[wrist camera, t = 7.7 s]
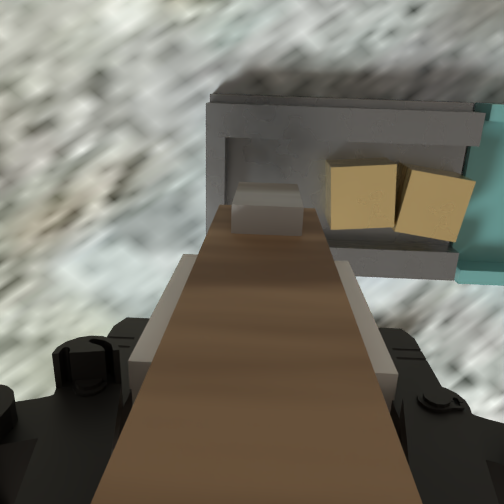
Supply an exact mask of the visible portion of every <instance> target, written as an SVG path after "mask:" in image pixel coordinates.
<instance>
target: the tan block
mask: <svg viewBox="0 0 504 504" xmlns="http://www.w3.org/2000/svg"><path fill="white" fill-rule="evenodd" d="M475 183H476V181H474V180H472V179H470V178H467V177H465V176H463V175H461V174H459V173H455V172H450V171H444V170H439V169H433V168H428V167H422V166H417V165H411V164H406V163H399V167H398V170H397V174H396V195H395V216H394V227H391V228H392V229H393V230H394V231H395V232H400V233H406V234H411V235H417V236H423V237H428V238H434V239H439V240H445V241H451V242H456V239H457V236H458V234H459V231H460V228H461V225H462V222H463V219H464V216H465V213H466V210H467V207H468V204H469V201H470V198H471V195H472V192H473V189H474V186H475Z"/></svg>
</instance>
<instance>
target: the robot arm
mask: <svg viewBox="0 0 504 504" xmlns="http://www.w3.org/2000/svg"><path fill="white" fill-rule="evenodd" d="M197 256H198V255H193V254H183V256H182V258H181V260H180V261H179V263H178V265H177V267H176V269H175V271H174V273H173V275H172V277H171V279H170V281H169V283H168V285H167V287H166V288H165V290H164V292H163V294H162V296H161V298H160V300H159V302H158V304H157V306H156V308H155V310H154V312H153V313H152V315H151V317H150V319H149V318H125V319H124V320H122V321H121V322H119V323H118V324H116V325H115V326H114V327H113V328H112V330H111V331H110V333H109V334H108V336H107V337H103V336H86V337H79V338H76V339H73V340H70V341H67V342H65V343H63V344H62V345H60V346H58V347H57V348H56V349H55V351H54V352H53V353H52V358H53V366H54V374H55V382H56V390H55V393H54V395H51V396H48V397H43V398H38V399H31V400H25V401H18V402H15V398H14V392H13V390H12V389H10V388H9V387H8V386H5V385H0V504H91V501H92V499H93V497H94V494H95V492H96V490H97V488H98V485H99V483H100V481H101V478H102V476H103V474H104V471H105V469H106V467H107V464H108V462H109V460H110V457H111V455H112V453H113V450H114V448H115V446H116V444H117V441H118V439H119V437H120V434H121V432H122V430H123V427H124V425H125V423H126V420H127V418H128V416H129V413H130V411H131V409H132V406H133V404H134V402H135V399H136V397H137V395H138V393H139V390H140V388H141V386H142V383H143V381H144V379H145V376H146V374H147V372H148V369H149V367H150V365H151V362H152V360H153V358H154V355H155V353H156V351H157V349H158V346H159V344H160V342H161V339H162V337H163V335H164V332H165V330H166V328H167V325H168V323H169V321H170V318H171V316H172V314H173V311H174V309H175V307H176V304H177V302H178V300H179V298H180V295H181V293H182V291H183V288H184V286H185V284H186V281H187V279H188V277H189V274H190V272H191V270H192V267H193V265H194V263H195V260H196V258H197ZM334 262H335V265H336V267H337V270H338V273H339V276H340V278H341V281H342V284H343V287H344V289H345V292H346V295H347V298H348V300H349V303H350V306H351V309H352V311H353V314H354V317H355V320H356V322H357V325H358V328H359V331H360V333H361V336H362V339H363V342H364V344H365V347H366V350H367V353H368V355H369V358H370V361H371V364H372V366H373V369H374V372H375V375H376V377H377V380H378V383H379V385H380V388H381V391H382V394H383V396H384V399H385V402H386V405H387V407H388V410H389V413H390V416H391V418H392V421H393V424H394V427H395V429H396V432H397V435H398V438H399V440H400V443H401V446H402V449H403V451H404V454H405V457H406V460H407V462H408V465H409V468H410V471H411V473H412V476H413V479H414V482H415V484H416V487H417V490H418V493H419V495H420V498H421V501H422V503H423V504H504V423H500V422H496V421H492V420H488V419H485V418H482V417H479V416H475V415H473V414H472V413H471V410H470V407H469V406H468V404H467V402H466V401H465V400H464V399H463V398H462V397H460V396H459V395H458V394H457V393H455V392H453V391H451V390H449V389H446V388H444V387H442V386H441V385H440V383H439V381H438V379H437V377H436V376H435V374H434V372H433V370H432V369H431V367H430V365H429V363H428V362H427V361H426V358H425V356H424V355H423V353H422V352H421V351H420V350H421V349H420V348H419V346H418V344H417V342H416V341H415V339H414V338H413V337H412V336H410V335H409V334H408V333H406V332H405V331H404V330H402V329H394V328H378V327H377V325H376V322H375V320H374V318H373V316H372V313H371V311H370V309H369V307H368V304H367V302H366V300H365V298H364V295H363V293H362V291H361V289H360V286H359V284H358V282H357V280H356V277H355V275H354V273H353V271H352V268H351V266H350V264H349V262H348V261H334Z"/></svg>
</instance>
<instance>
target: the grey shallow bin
mask: <svg viewBox="0 0 504 504" xmlns="http://www.w3.org/2000/svg"><path fill="white" fill-rule="evenodd" d="M473 106H474V103H466V102H437V101H408V100H379V99H350V98H321V97H292V96H263V95H233V94H210V102H209V103H206V235H207V233H208V230H209V228H210V226H211V223H212V221H213V219H214V216H215V214H216V212H217V209H218V207H219V205H232V202H233V199H234V196H235V193H236V190H237V187H238V184H239V182H258V183H284V184H297V185H298V188H299V192H300V195H301V199H302V203H303V206H304V208H315V210H316V213H317V215H318V218H319V221H320V224H321V226H322V229H323V232H324V235H325V237H326V240H327V243H328V246H329V248H330V251H331V254H332V257H333V259H334V261H348V262H349V264H350V266H351V268H352V271H353V273H354V275H355V276H362V277H385V278H408V279H431V280H454V278H455V273H456V268H457V262H458V257H459V252H458V251H457V250H455V249H454V248H453V247H452V246H451V245H450V244H449V241H445V240H439V239H434V238H428V237H423V236H417V235H411V234H406V233H400V232H395V231H394V230H393V229H392V228H391V227H387V228H363V229H340V230H331V229H330V226H329V224H328V222H327V219H326V160H341V159H361V158H381V157H386V158H388V159H389V160H391V161H392V162H394V163H396V164H397V170H398V167H399V163H406V164H411V165H417V166H422V167H428V168H433V169H439V170H444V171H450V172H455V173H459V174H461V172H462V167H463V161H464V156H465V150H466V146H478V147H479V146H480V141H481V136H482V131H483V125H484V120H485V115H486V113H482V112H474V111H473ZM396 174H397V173H396Z"/></svg>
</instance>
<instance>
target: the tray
mask: <svg viewBox="0 0 504 504" xmlns="http://www.w3.org/2000/svg"><path fill="white" fill-rule="evenodd" d="M474 112H482V113H486V115H485V120H484V125H483V131H482V136H481V141H480V146H479V147H478V146H468V148H467V154H466V159H465V165H464V170H463V176H465V177H467V178H470V179H472V180H474V181H476V183H475V186H474V189H473V192H472V195H471V198H470V201H469V204H468V207H467V210H466V213H465V216H464V219H463V222H462V225H461V228H460V231H459V234H458V236H457V239H456V242H450V245H451V246H452V247H453V248H454V249H455V250H457V251H458V252H459V257H458V262H457V268H456V273H455V278H454V280H455V281H456V282H457V283H458V284H479V285H502V286H504V104H495V103H476V104H475V110H474Z"/></svg>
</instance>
